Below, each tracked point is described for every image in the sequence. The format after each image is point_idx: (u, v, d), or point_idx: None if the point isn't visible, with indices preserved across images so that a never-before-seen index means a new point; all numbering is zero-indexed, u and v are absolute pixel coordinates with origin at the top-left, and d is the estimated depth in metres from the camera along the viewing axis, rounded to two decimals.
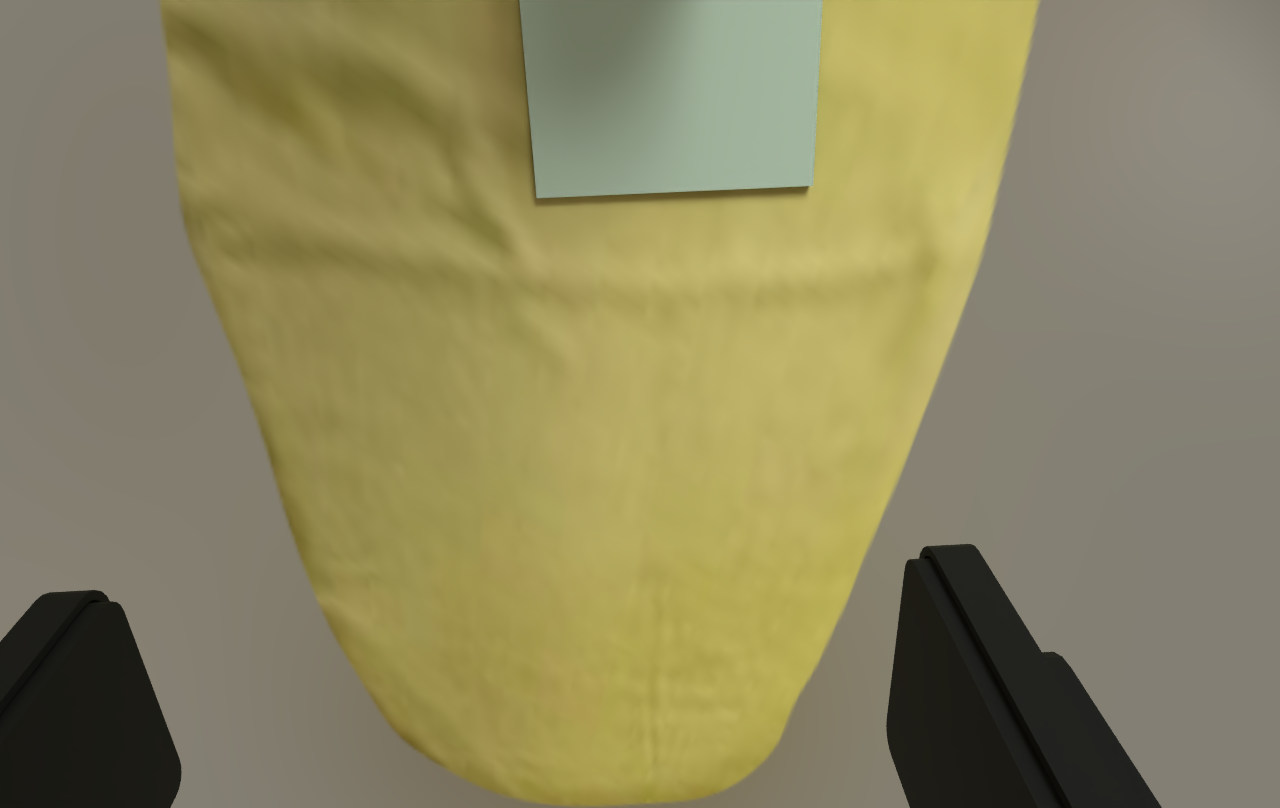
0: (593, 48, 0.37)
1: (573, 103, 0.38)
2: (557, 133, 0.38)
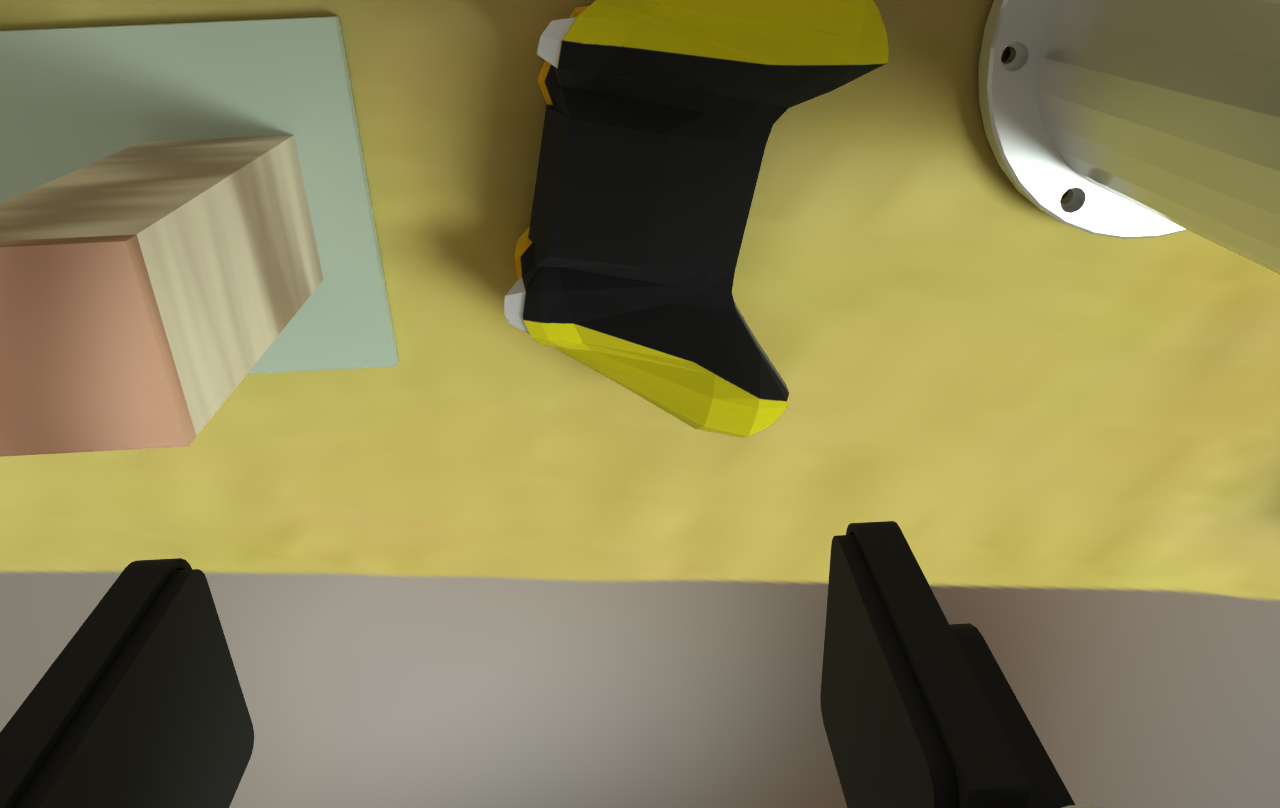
0: None
1: None
2: None
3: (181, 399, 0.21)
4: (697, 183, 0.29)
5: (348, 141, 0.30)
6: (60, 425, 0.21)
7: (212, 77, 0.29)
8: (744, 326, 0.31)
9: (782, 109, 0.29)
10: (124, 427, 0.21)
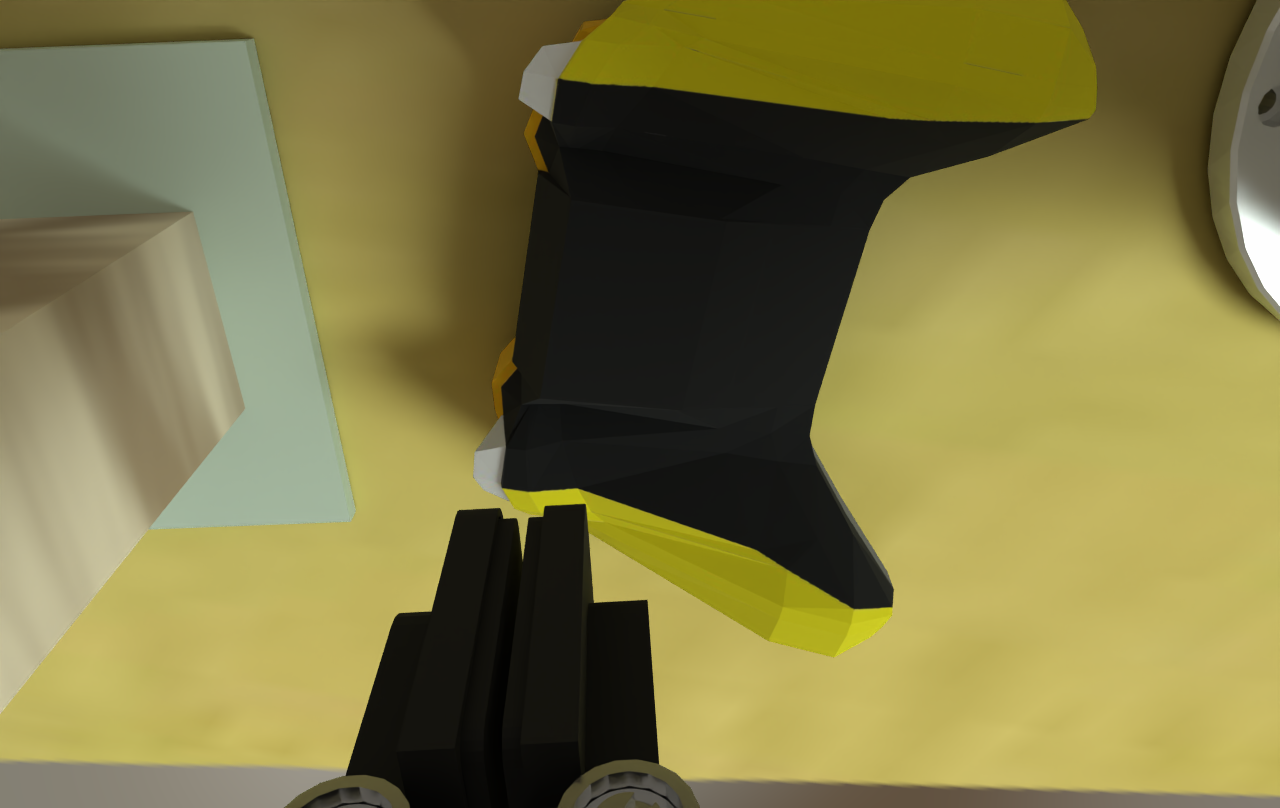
0: None
1: None
2: None
3: None
4: (766, 288, 0.19)
5: (273, 221, 0.21)
6: None
7: (68, 129, 0.20)
8: (828, 487, 0.21)
9: (900, 179, 0.19)
10: None
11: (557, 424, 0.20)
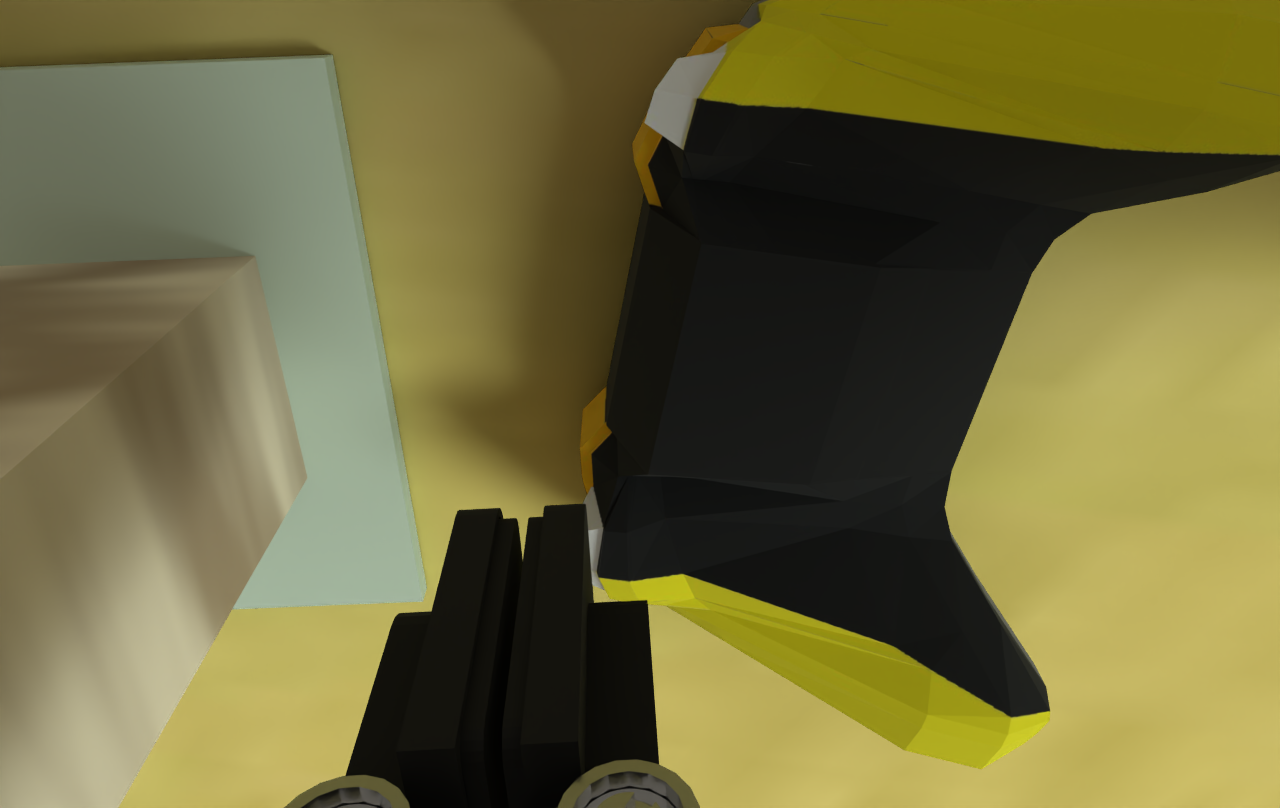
0: None
1: None
2: None
3: None
4: (914, 342, 0.16)
5: (349, 267, 0.18)
6: None
7: (110, 160, 0.17)
8: (967, 567, 0.18)
9: (1079, 215, 0.16)
10: None
11: (659, 499, 0.17)
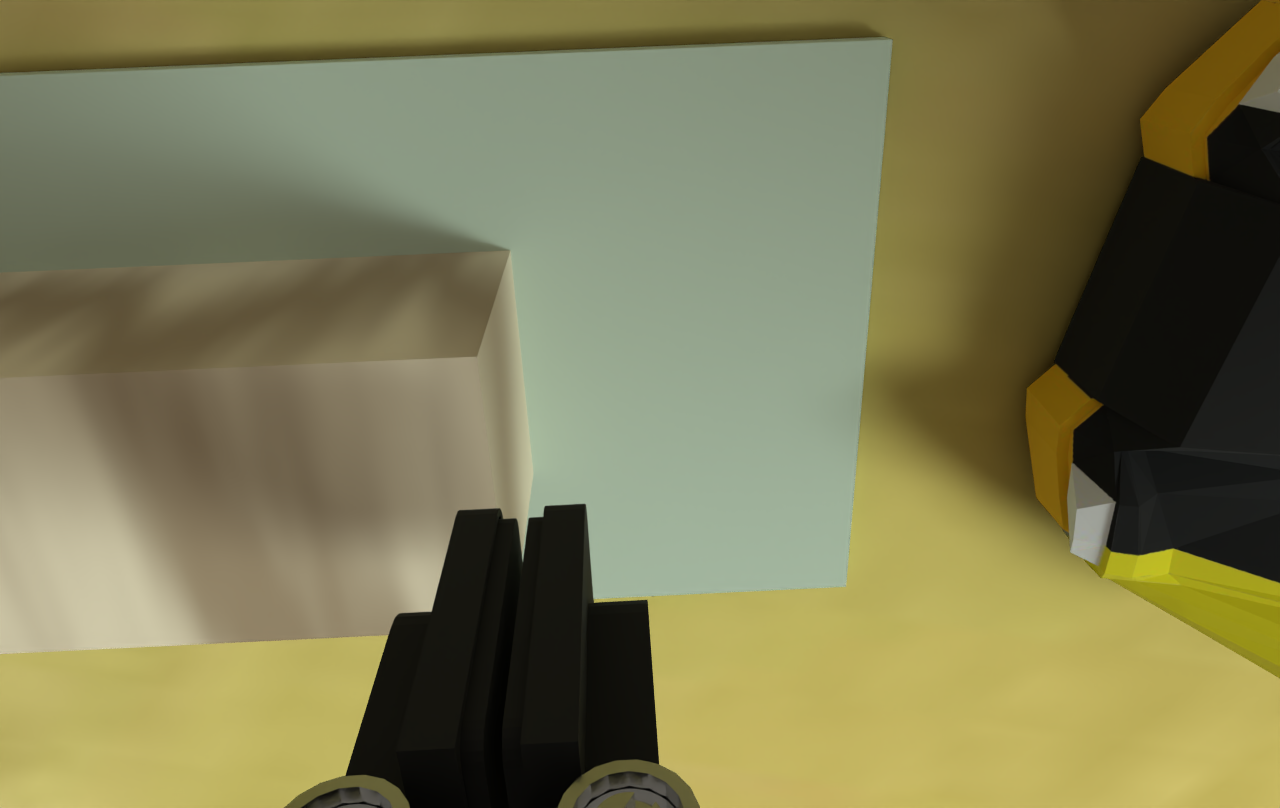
0: (131, 230, 0.17)
1: (1, 184, 0.17)
2: None
3: None
4: None
5: (861, 250, 0.18)
6: None
7: (655, 143, 0.17)
8: None
9: None
10: None
11: (1150, 474, 0.17)
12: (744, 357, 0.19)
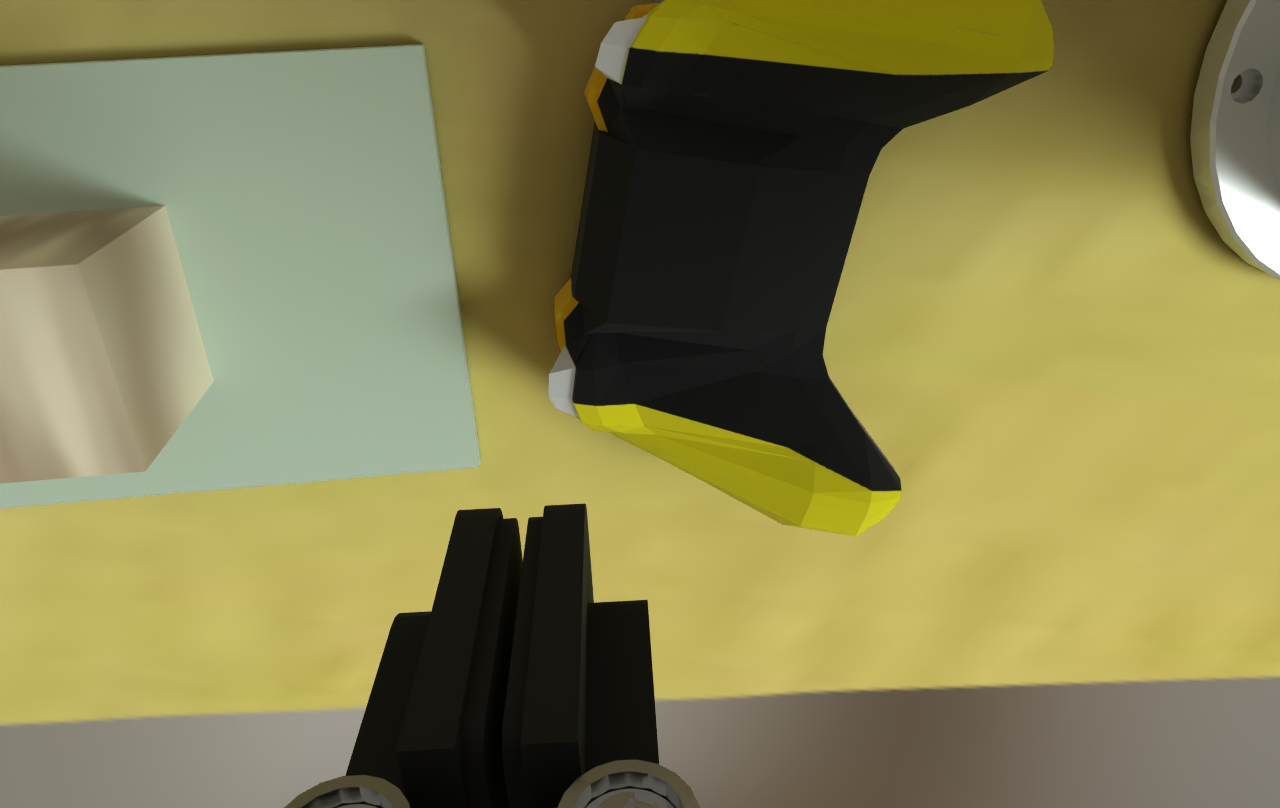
0: None
1: None
2: None
3: None
4: (789, 224, 0.23)
5: (433, 200, 0.24)
6: None
7: (261, 123, 0.23)
8: (840, 397, 0.25)
9: (895, 130, 0.23)
10: None
11: (614, 350, 0.24)
12: (361, 284, 0.25)
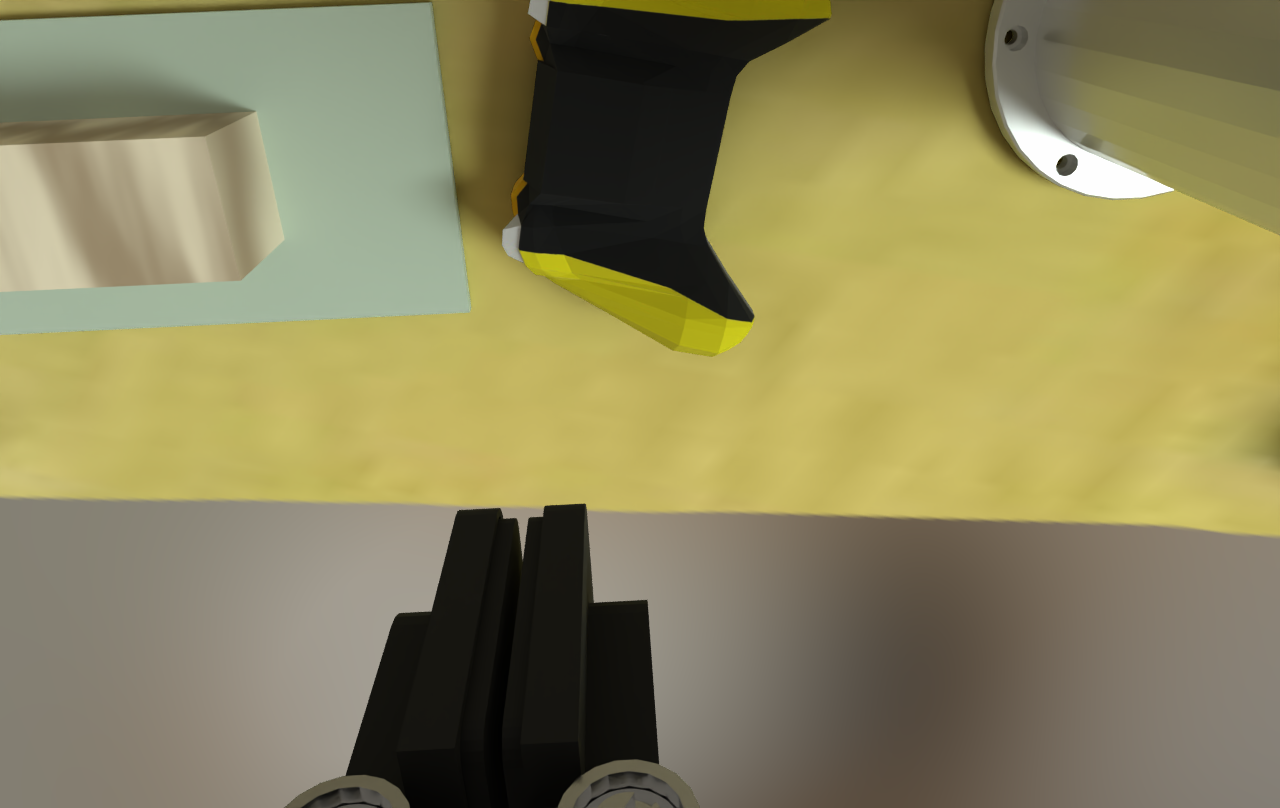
0: (63, 100, 0.34)
1: None
2: None
3: None
4: (670, 128, 0.33)
5: (437, 111, 0.35)
6: None
7: (321, 55, 0.34)
8: (715, 258, 0.35)
9: (744, 62, 0.33)
10: None
11: (550, 216, 0.34)
12: (387, 171, 0.36)
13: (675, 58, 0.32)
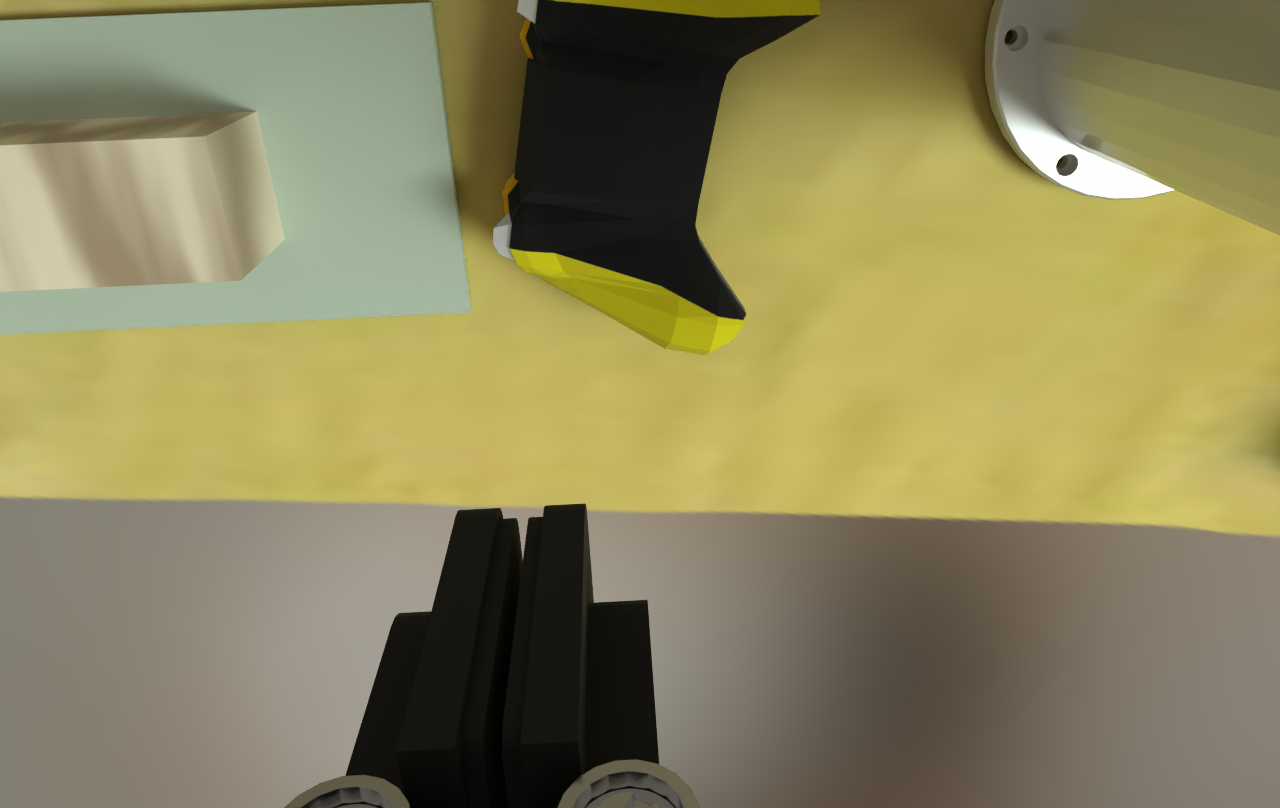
0: (63, 100, 0.34)
1: None
2: None
3: None
4: (661, 126, 0.33)
5: (437, 111, 0.35)
6: None
7: (322, 55, 0.34)
8: (706, 256, 0.35)
9: (734, 59, 0.33)
10: None
11: (541, 215, 0.34)
12: (387, 171, 0.36)
13: (665, 55, 0.32)
